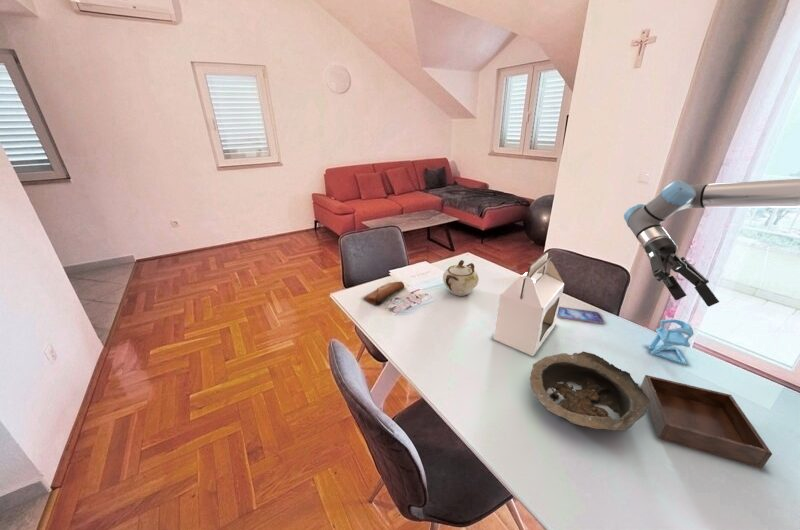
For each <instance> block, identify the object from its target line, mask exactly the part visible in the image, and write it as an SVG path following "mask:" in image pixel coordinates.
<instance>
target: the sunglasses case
mask: <svg viewBox="0 0 800 530" xmlns="http://www.w3.org/2000/svg"><path fill="white" fill-rule="evenodd" d="M404 289H405V283H404V282H403V281H394V282H390V283H387V284H384V285H381V286H379V287H378V288H377V289H375V290H374V291H372V292H370V293H369V294H367V295H365V296H364V297H363V300H365V301H366V302H367V303H369V304H371V305H373V306H377V305H379V304H381V303H382V302H384V301H385V300H386V299H388V298H389V297H391V296H392V295H395V294H397V293H398V292H400V291H401V290H404Z"/></svg>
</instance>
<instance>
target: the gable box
mask: <svg viewBox="0 0 800 530" xmlns="http://www.w3.org/2000/svg"><path fill="white" fill-rule="evenodd" d="M552 258H553V255H551V256H550V257H549V252H547V251H546V252H544V253H543V254H542V255H541V256H540V257H538V258H537V259H536V260H535V261H533V262H532V263H531V264H530V265H529V266H528V268H527V271H526V272H524V274H522V275H521V276H519V277H518V278H517V279H515V281H513V283H512V284H510V286H508V287H507V288H506V289H505V290H504V291H502V292H501V293H500V294H499V299H498V307H497V313H496V318H495V319H496V320H495V325H494V333H493V340H495V341H497V342H499V343H501V344H503V345H506V346H509V347H510V348H513V349H515V350H518V351H520V352H522V353H524V354H527V355H529V356H531V357H534V356H535V354H536V353H537V352H538V350H539V349H540V347H541V346H542V344H543V343H544V342H545V341H546V339H547V337H548V336H549V334H550V333H551V332H552V331H553V329H554V327H555V326H556V322H557V318H558V309H559V307H560V304H561V300H562V296H563V292H564V287H565V283H564V281H563V279H562V277H561V275H560V273H559V271H558V269H557V267H556V265H555V264H554V262H553V260H551V259H552ZM543 323H546V324H549V325H550V326H549V327H547V328H546V330H545V331H544V333H543V335H542V330H543Z"/></svg>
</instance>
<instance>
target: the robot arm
mask: <svg viewBox="0 0 800 530" xmlns="http://www.w3.org/2000/svg"><path fill="white" fill-rule="evenodd" d="M704 208H705V209H706V208H707V209H709V208H710V209H712V208H713V209H715V208H716V209H717V208H719V209H721V208H723V209H724V208H726V209H727V208H729V209H731V208H732V209H733V208H800V178H789V179H788V178H787V179H770V180H755V181H740V182H738V181H737V182H722V183H721V182H720V183H708V184H707V183H706V184H696V183H694V184H693V183H691V184H688V183H686V182H685V181H681V180H674V181H673V182H671V183H670V184H668V185H667V186H665V187H664V188H663V189H661V191H660V192H659V193H658V194H656V195H655V196H654V197H653V198H652V199H650V201H648V202H647V203H646V204H643V203H640V204H635V205H633V206H632V207H629V208H628V209H627V210H626V211H625V212H624V214H623V220H624V221H625V223H626V225H627V227H628V228H629V229H630V231H631V232H632V233H633V235H634V237H636V240H637V241H638V242H639V246H640V247H642V248H643V250H644V252H645V253H646V256H647V258H648V259H649V263H650V268H651V271H652V276H653V277H655V278H656V280H657V281H658V282H661V281H662V282H663V284H664V285H665V287H666V288H667V290H668V291H669V293H670V295H671V296H672V298H673V299H674V300H675V301H679V300H680V299H683V298H685V297H686V296H687V294H686V292H685V291H684V289H683V287H681V285H680V283H679V282H678V281H677V279H676V278H675V276H674V275H671V271H673V272H674V273H678V274H679V275H681V277H683V278H684V279H686V280H687V281H688V282H689V283H690V284H691V285H693V286H694V289H695V291H696V292H697V293H698V295H699V297H700V298H701V299H702V300H703V302H704V303H705V304H706V306H707V307H712V306H714V305H716V304H718V303H720V300H719V299H718V298H717V297H716V295H715V294H714V292H713V291H712V290H711V289H710V287H709V286H708V285H707V284H709V283H710V280H709V279H707V278H706V277H705V276H704V275H703V274H702V273H700V271H699V270H697V269H696V268H695V267H694V266H693V265H692V264H691V263H690V262H689V261H688V259H686V257H684V256H682V257H680V256H678V255H677V254H676V252H677V251H678V245H677V244H676V243H675V241H674V240H673V239H672V238H671V236H670V235H669V233H668V232H667V230H666V229H665V228H664V227H663V225H662V223H664V221H666V220H667V219H668V218H670V217H671V216H673V215H674V214H676V212H679V211H683V210H687V209H704Z"/></svg>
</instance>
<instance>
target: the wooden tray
mask: <svg viewBox="0 0 800 530" xmlns="http://www.w3.org/2000/svg"><path fill="white" fill-rule="evenodd" d="M639 388H641V389H642V390H643V393H644V394H646V396H647V397H648V398H649V400H650V401H649V402H650V403H648V404H645V406H646V409H647V412H648V413H649V416H650V419H651V421H652V424H653V427H654V430H655V432H656V435H657V438H658V439H659V440H661V441H665V442H669V443H673V444H676V445H679V446H682V447H686V448H690V449H693V450H696V451H700V452H703V453H707V454H710V455H713V456H716V457H720V458H724V459H727V460H731V461H734V462H737V463H741V464H744V465H748V466H752V467H754V468H758V469H763V468H764V467H765V465H766V463H767V462H768V461H769V460H770V458H771V457H772V455H773V452H771V450H770V449H769V446H767V444H766V443H765V441H764V440H763V438H762V437H761V436H760V433H758V431H757V430H756V428H755V427H754V425H753V424H752V423H751V421H750V420H749V418H748V417H747V415H746V414H745V412H744V411H743V409H742V408H741V406H740V405H739V404H738V403H737V401H736V399H735V398H734V397H733V395H732V394H729V393H726V392H725V393H724V392H721V391H717V390H712V389H707V388H703V387H699V386H695V385H690V384H686V383H684V382H683V383H682V382H678V381H673V380H669V379H665V378H661V377H657V376H652V375H648V374H645V375H644V377H643V379H642V382H641V384H640V387H639Z"/></svg>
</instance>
